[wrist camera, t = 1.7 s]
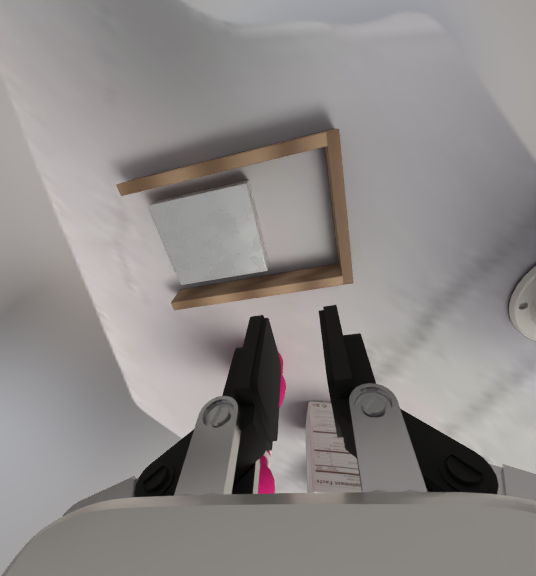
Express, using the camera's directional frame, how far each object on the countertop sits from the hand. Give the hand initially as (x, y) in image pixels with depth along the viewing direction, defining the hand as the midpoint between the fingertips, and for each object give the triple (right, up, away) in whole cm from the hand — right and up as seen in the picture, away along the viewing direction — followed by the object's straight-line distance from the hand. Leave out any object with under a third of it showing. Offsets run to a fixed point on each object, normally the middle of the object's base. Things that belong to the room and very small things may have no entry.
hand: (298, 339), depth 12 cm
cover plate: (-7, +8, +19) cm, 22 cm away
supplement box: (+8, -18, +32) cm, 37 cm away
